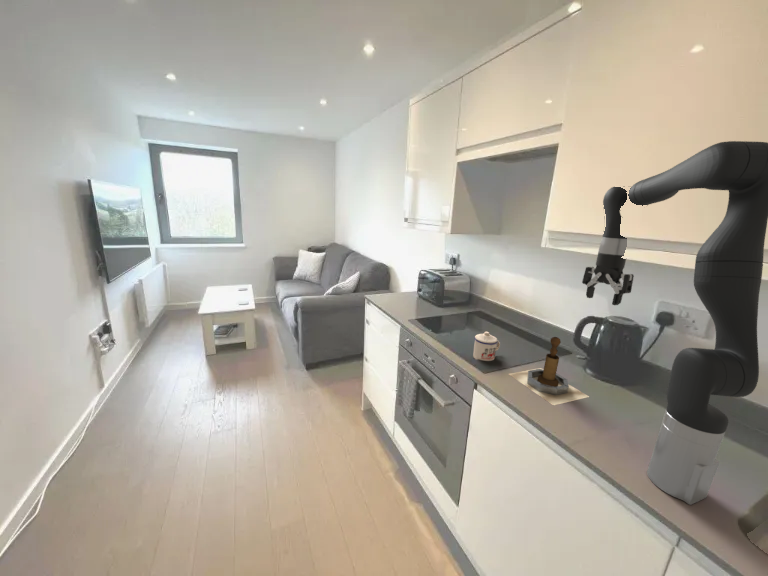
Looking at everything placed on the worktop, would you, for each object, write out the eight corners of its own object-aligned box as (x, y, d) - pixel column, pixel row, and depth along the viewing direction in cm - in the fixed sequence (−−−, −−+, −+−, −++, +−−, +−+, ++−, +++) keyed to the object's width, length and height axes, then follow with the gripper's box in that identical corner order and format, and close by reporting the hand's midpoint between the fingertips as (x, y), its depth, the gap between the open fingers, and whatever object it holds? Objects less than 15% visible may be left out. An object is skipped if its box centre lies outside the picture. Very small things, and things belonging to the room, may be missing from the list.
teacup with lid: (481, 364, 123) (485, 337, 120) (468, 354, 131) (470, 329, 128) (505, 360, 127) (509, 334, 124) (490, 351, 135) (494, 326, 132)
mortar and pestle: (555, 392, 103) (565, 343, 99) (535, 385, 107) (543, 337, 103) (558, 384, 108) (568, 337, 104) (539, 377, 112) (547, 332, 108)
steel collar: (575, 391, 104) (576, 384, 104) (547, 397, 100) (549, 390, 99) (545, 373, 116) (546, 367, 115) (519, 378, 111) (520, 372, 111)
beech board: (588, 399, 102) (589, 396, 102) (552, 408, 96) (553, 405, 96) (540, 370, 120) (540, 367, 120) (507, 376, 114) (508, 373, 114)
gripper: (645, 255, 92) (632, 306, 96) (598, 249, 105) (589, 294, 109) (628, 255, 89) (616, 308, 93) (583, 249, 102) (574, 296, 106)
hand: (601, 301), depth 101 cm, fingers open, 8 cm apart
